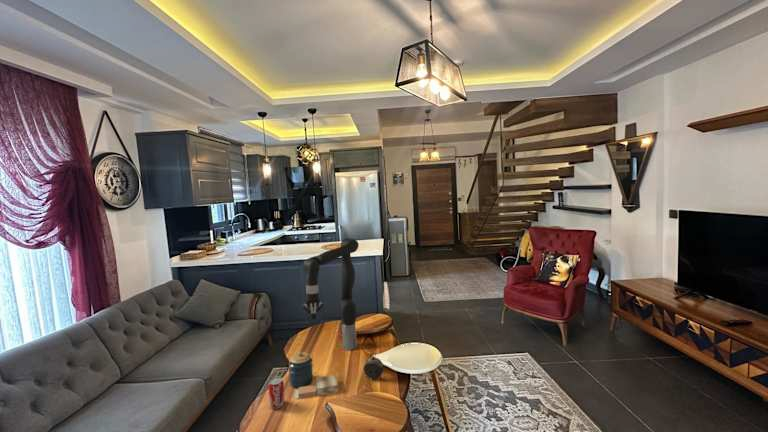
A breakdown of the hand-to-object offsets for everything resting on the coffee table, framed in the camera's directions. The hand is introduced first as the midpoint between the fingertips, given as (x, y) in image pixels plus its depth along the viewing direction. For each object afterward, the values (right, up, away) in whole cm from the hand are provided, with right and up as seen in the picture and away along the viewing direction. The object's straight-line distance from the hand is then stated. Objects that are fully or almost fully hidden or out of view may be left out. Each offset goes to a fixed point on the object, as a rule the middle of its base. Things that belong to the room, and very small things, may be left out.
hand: (313, 318), depth 197 cm
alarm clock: (+38, -30, -16) cm, 50 cm away
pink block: (+3, -31, -27) cm, 41 cm away
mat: (+2, -31, -26) cm, 41 cm away
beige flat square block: (+12, -31, -23) cm, 40 cm away
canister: (-3, -31, -16) cm, 35 cm away
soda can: (-11, -32, -36) cm, 49 cm away
